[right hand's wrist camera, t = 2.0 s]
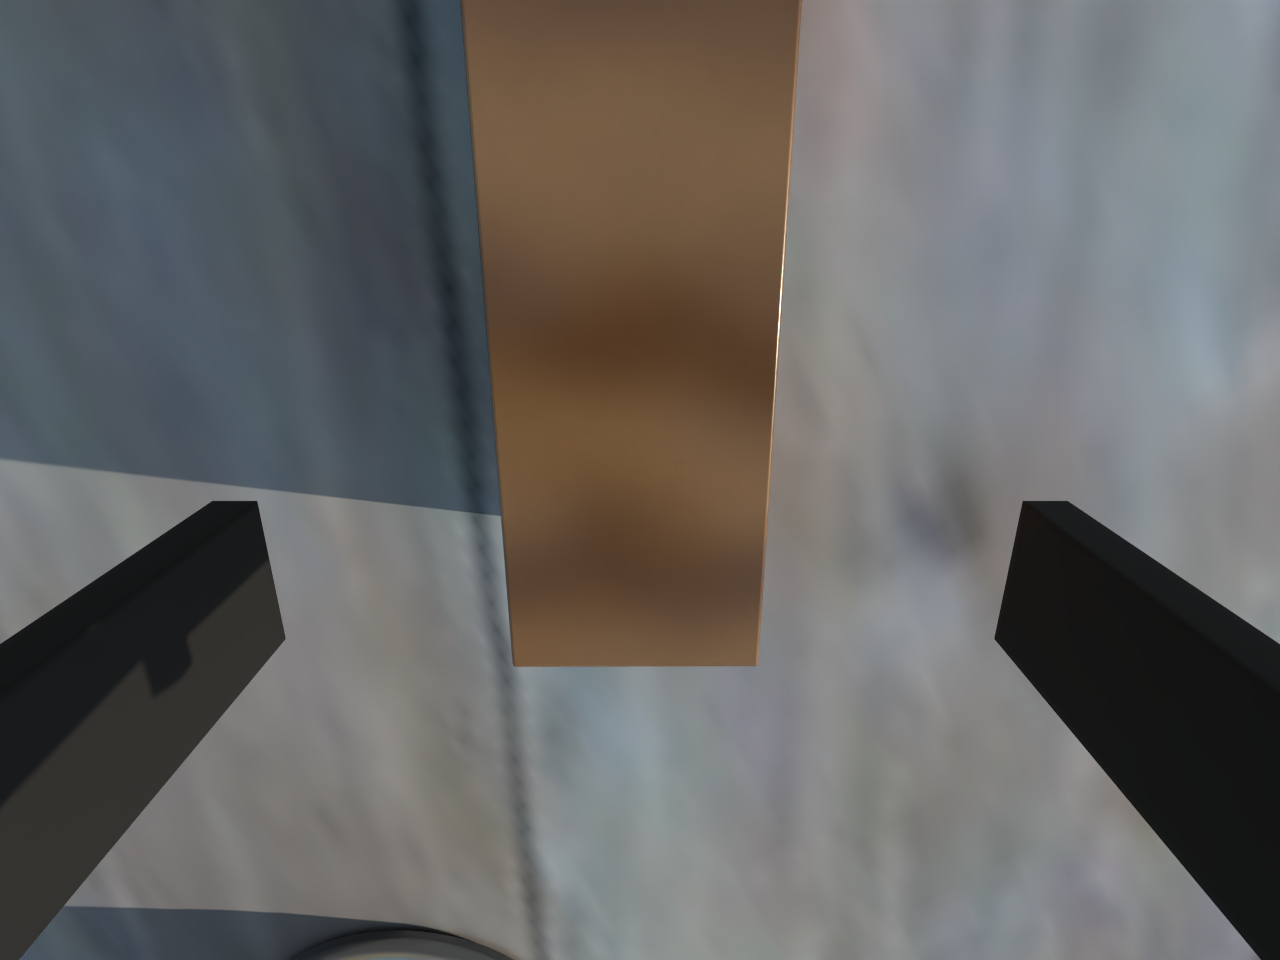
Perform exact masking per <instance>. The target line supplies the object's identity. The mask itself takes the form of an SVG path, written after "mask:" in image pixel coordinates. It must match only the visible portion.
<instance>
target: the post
mask: <svg viewBox="0 0 1280 960" xmlns="http://www.w3.org/2000/svg"><path fill="white" fill-rule="evenodd" d="M460 3H461V15H462V28H463V41H464V53H465V66H466V79H467V91H468V104H469V117H470V129H471V142H472V155H473V167H474V180H475V193H476V205H477V218H478V231H479V243H480V256H481V269H482V281H483V294H484V307H485V319H486V332H487V345H488V357H489V370H490V383H491V395H492V408H493V421H494V433H495V446H496V459H497V471H498V484H499V497H500V509H501V522H502V535H503V547H504V560H505V573H506V585H507V598H508V611H509V623H510V636H511V649H512V661H513V665H514V666H516V667H564V666H756V665H757V664H758V657H759V642H760V627H761V612H762V597H763V582H764V566H765V551H766V536H767V521H768V506H769V491H770V476H771V461H772V446H773V430H774V415H775V400H776V385H777V370H778V355H779V340H780V325H781V310H782V295H783V279H784V264H785V249H786V234H787V219H788V204H789V189H790V174H791V159H792V143H793V128H794V113H795V98H796V83H797V68H798V53H799V38H800V23H801V7H802V0H460Z"/></svg>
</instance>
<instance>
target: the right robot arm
mask: <svg viewBox="0 0 1280 960" xmlns="http://www.w3.org/2000/svg"><path fill="white" fill-rule="evenodd" d="M285 639H286V638H285V634H284V629H283V624H282V619H281V614H280V609H279V605H278V600H277V595H276V590H275V585H274V580H273V576H272V571H271V566H270V561H269V556H268V551H267V547H266V542H265V537H264V532H263V527H262V522H261V517H260V513H259V508H258V503H257V501H212V502H210V503H209V504H207V505H206V506H204V507H203V508H201V509H200V510H198V511H197V512H196V513H194V514H193V515H191V516H190V517H188V518H187V519H185V520H184V521H182V522H181V523H179V524H178V525H176V526H175V527H173V528H172V529H170V530H169V531H167V532H166V533H164V534H163V535H161V536H160V537H158V538H157V539H155V540H154V541H153V542H151V543H150V544H148V545H147V546H145V547H144V548H142V549H141V550H139V551H138V552H136V553H135V554H133V555H132V556H130V557H129V558H127V559H126V560H124V561H123V562H121V563H120V564H118V565H117V566H115V567H114V568H113V569H111V570H110V571H108V572H107V573H105V574H104V575H102V576H101V577H99V578H98V579H96V580H95V581H93V582H92V583H90V584H89V585H87V586H86V587H84V588H83V589H81V590H80V591H78V592H77V593H75V594H74V595H73V596H71V597H70V598H68V599H67V600H65V601H64V602H62V603H61V604H59V605H58V606H56V607H55V608H53V609H52V610H50V611H49V612H47V613H46V614H44V615H43V616H41V617H40V618H38V619H37V620H35V621H34V622H32V623H31V624H30V625H28V626H27V627H25V628H24V629H22V630H21V631H19V632H18V633H16V634H15V635H13V636H12V637H10V638H9V639H7V640H6V641H4V642H3V643H1V644H0V960H19V959H20V958H21V956H22V955H23V954H24V953H25V952H26V950H27V949H28V948H29V947H30V946H31V944H32V943H33V942H34V941H35V940H36V938H37V937H38V936H39V935H40V934H41V932H42V931H43V930H44V929H45V928H46V926H47V925H48V924H49V923H50V922H51V920H52V919H53V918H54V917H55V916H56V914H57V913H58V912H59V911H60V909H61V908H62V907H63V906H64V905H65V903H66V902H67V901H68V900H69V899H70V897H71V896H72V895H73V894H74V893H75V891H76V890H77V889H78V888H79V887H80V885H81V884H82V883H83V882H84V881H85V879H86V878H87V877H88V876H89V875H90V873H91V872H92V871H93V870H94V869H95V867H96V866H97V865H98V864H99V863H100V861H101V860H102V859H103V858H104V857H105V855H106V854H107V853H108V852H109V851H110V849H111V848H112V847H113V846H114V845H115V843H116V842H117V841H118V840H119V839H120V837H121V836H122V835H123V834H124V833H125V831H126V830H127V829H128V828H129V827H130V825H131V824H132V823H133V822H134V821H135V819H136V818H137V817H138V816H139V814H140V813H141V812H142V811H143V810H144V808H145V807H146V806H147V805H148V804H149V802H150V801H151V800H152V799H153V798H154V796H155V795H156V794H157V793H158V792H159V790H160V789H161V788H162V787H163V786H164V784H165V783H166V782H167V781H168V780H169V778H170V777H171V776H172V775H173V774H174V772H175V771H176V770H177V769H178V768H179V766H180V765H181V764H182V763H183V762H184V760H185V759H186V758H187V757H188V756H189V754H190V753H191V752H192V751H193V750H194V748H195V747H196V746H197V745H198V744H199V742H200V741H201V740H202V739H203V738H204V736H205V735H206V734H207V733H208V732H209V730H210V729H211V728H212V727H213V725H214V724H215V723H216V722H217V721H218V719H219V718H220V717H221V716H222V715H223V713H224V712H225V711H226V710H227V709H228V707H229V706H230V705H231V704H232V703H233V701H234V700H235V699H236V698H237V697H238V695H239V694H240V693H241V692H242V691H243V689H244V688H245V687H246V686H247V685H248V683H249V682H250V681H251V680H252V679H253V677H254V676H255V675H256V674H257V673H258V671H259V670H260V669H261V668H262V667H263V665H264V664H265V663H266V662H267V661H268V659H269V658H270V657H271V656H272V655H273V653H274V652H275V651H276V650H277V649H278V647H279V646H280V645H281V644H282V643H283V641H284V640H285ZM994 639H995V640H996V641H997V643H998V644H999V645H1000V646H1001V647H1002V649H1003V650H1004V651H1005V652H1006V653H1007V655H1008V656H1009V657H1010V658H1011V659H1012V661H1013V662H1014V663H1015V664H1016V665H1017V667H1018V668H1019V669H1020V670H1021V671H1022V673H1023V674H1024V675H1025V676H1026V677H1027V679H1028V680H1029V681H1030V682H1031V683H1032V685H1033V686H1034V687H1035V688H1036V689H1037V691H1038V692H1039V693H1040V694H1041V695H1042V697H1043V698H1044V699H1045V700H1046V701H1047V703H1048V704H1049V705H1050V706H1051V707H1052V709H1053V710H1054V711H1055V712H1056V713H1057V715H1058V716H1059V717H1060V718H1061V719H1062V721H1063V722H1064V723H1065V724H1066V725H1067V727H1068V728H1069V729H1070V730H1071V732H1072V733H1073V734H1074V735H1075V736H1076V738H1077V739H1078V740H1079V741H1080V742H1081V744H1082V745H1083V746H1084V747H1085V748H1086V750H1087V751H1088V752H1089V753H1090V754H1091V756H1092V757H1093V758H1094V759H1095V760H1096V762H1097V763H1098V764H1099V765H1100V766H1101V768H1102V769H1103V770H1104V771H1105V772H1106V774H1107V775H1108V776H1109V777H1110V778H1111V780H1112V781H1113V782H1114V783H1115V784H1116V786H1117V787H1118V788H1119V789H1120V790H1121V792H1122V793H1123V794H1124V795H1125V796H1126V798H1127V799H1128V800H1129V801H1130V802H1131V804H1132V805H1133V806H1134V807H1135V808H1136V810H1137V811H1138V812H1139V813H1140V814H1141V816H1142V817H1143V818H1144V819H1145V821H1146V822H1147V823H1148V824H1149V825H1150V827H1151V828H1152V829H1153V830H1154V831H1155V833H1156V834H1157V835H1158V836H1159V837H1160V839H1161V840H1162V841H1163V842H1164V843H1165V845H1166V846H1167V847H1168V848H1169V849H1170V851H1171V852H1172V853H1173V854H1174V855H1175V857H1176V858H1177V859H1178V860H1179V861H1180V863H1181V864H1182V865H1183V866H1184V867H1185V869H1186V870H1187V871H1188V872H1189V873H1190V875H1191V876H1192V877H1193V878H1194V879H1195V881H1196V882H1197V883H1198V884H1199V885H1200V887H1201V888H1202V889H1203V890H1204V891H1205V893H1206V894H1207V895H1208V896H1209V897H1210V899H1211V900H1212V901H1213V902H1214V903H1215V905H1216V906H1217V907H1218V908H1219V909H1220V911H1221V912H1222V913H1223V914H1224V916H1225V917H1226V918H1227V919H1228V920H1229V922H1230V923H1231V924H1232V925H1233V926H1234V928H1235V929H1236V930H1237V931H1238V932H1239V934H1240V935H1241V936H1242V937H1243V938H1244V940H1245V941H1246V942H1247V943H1248V944H1249V946H1250V947H1251V948H1252V949H1253V950H1254V952H1255V953H1256V954H1257V955H1258V956H1259V958H1260V959H1261V960H1280V644H1279V643H1277V642H1276V641H1274V640H1273V639H1271V638H1270V637H1268V636H1267V635H1265V634H1264V633H1262V632H1261V631H1259V630H1258V629H1256V628H1255V627H1253V626H1252V625H1250V624H1249V623H1248V622H1246V621H1245V620H1243V619H1242V618H1240V617H1239V616H1237V615H1236V614H1234V613H1233V612H1231V611H1230V610H1228V609H1227V608H1225V607H1224V606H1222V605H1221V604H1219V603H1218V602H1216V601H1215V600H1213V599H1212V598H1210V597H1209V596H1207V595H1206V594H1205V593H1203V592H1202V591H1200V590H1199V589H1197V588H1196V587H1194V586H1193V585H1191V584H1190V583H1188V582H1187V581H1185V580H1184V579H1182V578H1181V577H1179V576H1178V575H1176V574H1175V573H1173V572H1172V571H1170V570H1169V569H1167V568H1166V567H1165V566H1163V565H1162V564H1160V563H1159V562H1157V561H1156V560H1154V559H1153V558H1151V557H1150V556H1148V555H1147V554H1145V553H1144V552H1142V551H1141V550H1139V549H1138V548H1136V547H1135V546H1133V545H1132V544H1130V543H1129V542H1127V541H1126V540H1125V539H1123V538H1122V537H1120V536H1119V535H1117V534H1116V533H1114V532H1113V531H1111V530H1110V529H1108V528H1107V527H1105V526H1104V525H1102V524H1101V523H1099V522H1098V521H1096V520H1095V519H1093V518H1092V517H1090V516H1089V515H1087V514H1086V513H1084V512H1083V511H1082V510H1080V509H1079V508H1077V507H1076V506H1074V505H1073V504H1071V503H1070V502H1068V501H1023V503H1022V508H1021V513H1020V517H1019V522H1018V527H1017V532H1016V537H1015V542H1014V547H1013V551H1012V556H1011V561H1010V566H1009V571H1008V576H1007V580H1006V585H1005V590H1004V595H1003V600H1002V605H1001V609H1000V614H999V619H998V624H997V629H996V634H995V638H994ZM292 960H513V959H511V958H509V957H507V956H506V955H504V954H502V953H499V952H497V951H495V950H493V949H491V948H488V947H486V946H483V945H480V944H477V943H475V942H471V941H468V940H464V939H461V938H457V937H453V936H448V935H443V934H437V933H430V932H422V931H409V930H388V931H374V932H366V933H359V934H354V935H349V936H345V937H341V938H337V939H334V940H331V941H328V942H325V943H323V944H320V945H318V946H315V947H313V948H311V949H309V950H307V951H305V952H303V953H301V954H300V955H298V956H297V957H295V958H294V959H292Z"/></svg>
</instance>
